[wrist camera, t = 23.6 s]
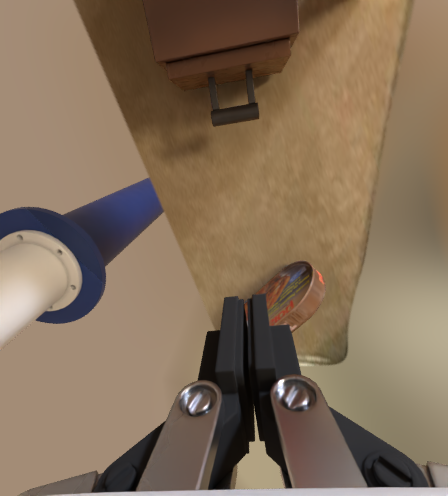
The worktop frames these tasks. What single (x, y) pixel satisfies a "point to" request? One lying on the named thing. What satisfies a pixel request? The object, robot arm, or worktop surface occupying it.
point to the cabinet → (216, 25)
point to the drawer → (231, 74)
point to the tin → (293, 295)
